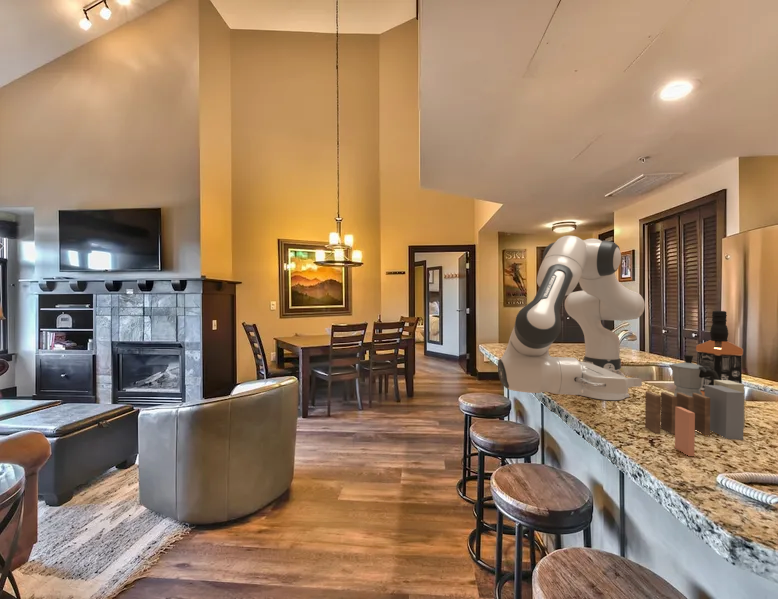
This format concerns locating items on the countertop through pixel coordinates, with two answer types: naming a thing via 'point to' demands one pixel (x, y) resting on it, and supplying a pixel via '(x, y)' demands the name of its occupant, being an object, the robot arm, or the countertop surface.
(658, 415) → the walnut domino
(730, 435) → the end block
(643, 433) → the countertop surface
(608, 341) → the robot arm
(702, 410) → the walnut domino
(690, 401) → the walnut domino
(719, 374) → the whiskey bottle
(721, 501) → the countertop surface
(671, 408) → the walnut domino
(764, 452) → the countertop surface
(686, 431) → the terracotta domino
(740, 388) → the skincare box
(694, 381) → the coffee maker
